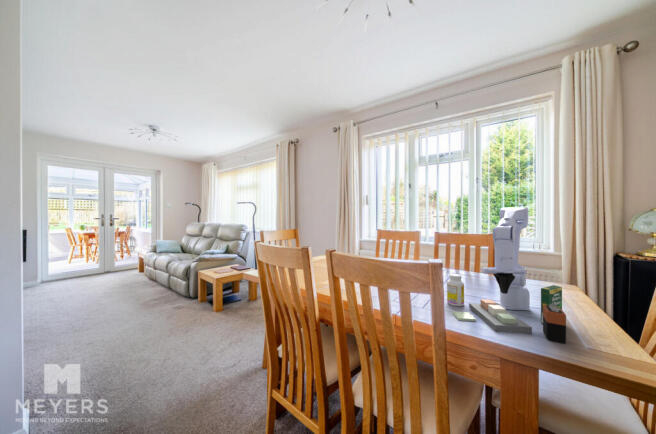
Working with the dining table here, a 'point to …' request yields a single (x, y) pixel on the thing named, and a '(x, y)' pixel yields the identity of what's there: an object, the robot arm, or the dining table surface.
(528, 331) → the button board
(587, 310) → the dining table surface
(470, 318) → the tile
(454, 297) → the supplement bottle
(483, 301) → the terracotta button
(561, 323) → the battery
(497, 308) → the cream button
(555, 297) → the coffee box
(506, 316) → the sage button
